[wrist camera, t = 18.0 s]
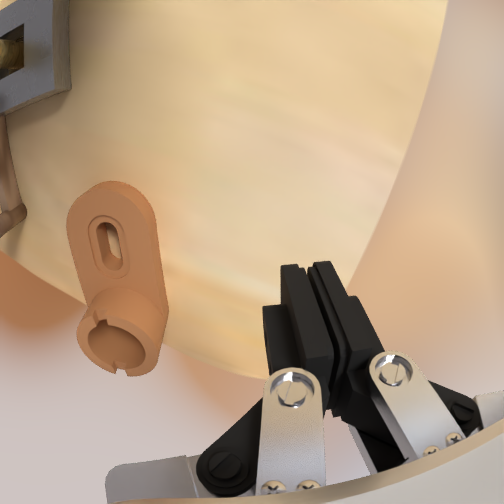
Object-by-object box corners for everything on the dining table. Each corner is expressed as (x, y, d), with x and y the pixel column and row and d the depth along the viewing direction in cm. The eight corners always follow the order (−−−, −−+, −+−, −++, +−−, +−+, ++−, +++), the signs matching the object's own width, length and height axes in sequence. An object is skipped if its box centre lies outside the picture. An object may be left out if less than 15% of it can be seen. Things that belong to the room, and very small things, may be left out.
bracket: (173, 332, 34) (165, 378, 28) (109, 330, 33) (91, 372, 27) (152, 177, 26) (127, 203, 19) (72, 184, 25) (34, 210, 19)
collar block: (-11, 31, 15) (-28, 30, 12) (69, -12, 15) (54, -20, 13) (-8, 121, 20) (-26, 126, 18) (71, 88, 21) (54, 89, 18)
